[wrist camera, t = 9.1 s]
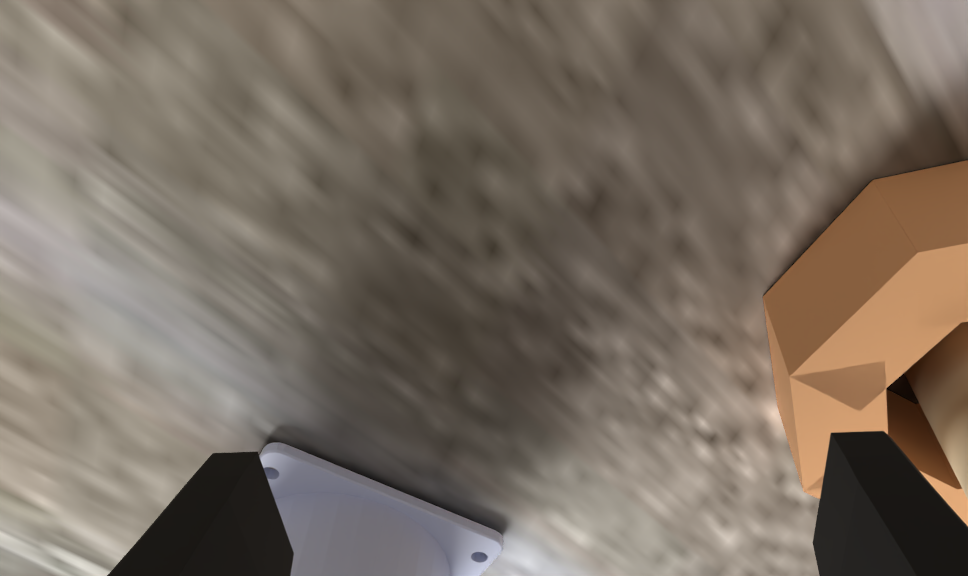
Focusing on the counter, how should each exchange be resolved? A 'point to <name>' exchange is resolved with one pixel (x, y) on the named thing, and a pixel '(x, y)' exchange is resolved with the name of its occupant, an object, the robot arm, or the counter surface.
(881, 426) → the orange faceted ring
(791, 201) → the counter surface
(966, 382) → the dowel
